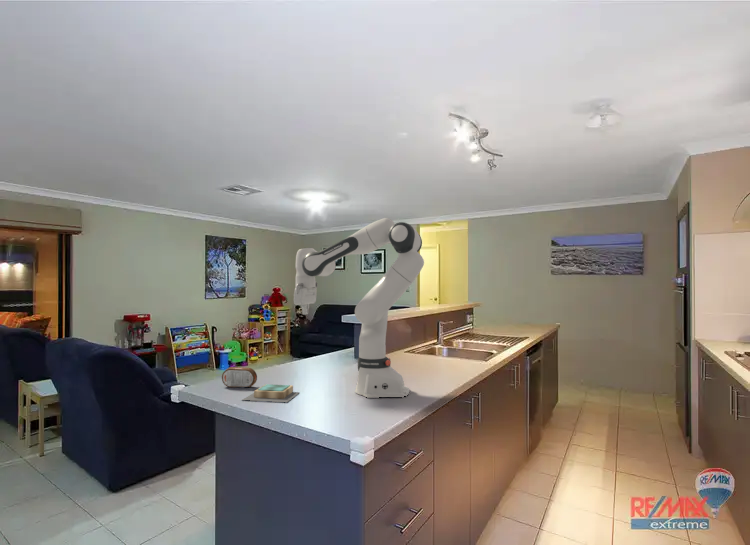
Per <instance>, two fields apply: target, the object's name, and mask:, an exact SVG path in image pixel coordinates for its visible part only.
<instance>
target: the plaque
mask: <svg viewBox="0 0 750 545" xmlns="http://www.w3.org/2000/svg"><path fill="white" fill-rule="evenodd" d="M292 392H294V385H292V384H290V385H289V384H267V383H266V384H265V383H264V385H262V386H260V387H259V388H257V389H255V390H254V391H253V393H254V397H256V398H276V399H284V398H285V397H286V396H288V395H289V394H290V393H292Z"/></svg>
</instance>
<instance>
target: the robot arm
mask: <svg viewBox="0 0 750 545" xmlns="http://www.w3.org/2000/svg"><path fill="white" fill-rule="evenodd" d="M388 244H391V245H392V247H393V249H394V250H395V252H396V253H397V254H398V256H397V258H396V260H395V261H394V262H393V264H392V265H391V266H390V267H389V268H388V270H387V271H386V272H385V273H384V274H383V276H382V277H381V278H380V279H379V280H378V282H377V283H376V284H375V285H373V287H372V288H371V289H369V291H368V292H366V294H364V296H363V297H362V299H360V301H359V302H358V303H356V305H355V308H354V316H355V318H356V320H357V321H358V322H360V323H361V329H360V334H359V337H358V338H359V339H358V358H357V371H358V372H357V373H358V374H357V383H356V386H355V390H354V392H355V394H357V395H360V396H364V398H366V397H367V398H366V399H373V398H374V399H380V398H379V397H402V398H405V397H404V396H406V397H408V396H409V395H410V393H411V392H410V387H408V386H406V385H405V380H404V377H403V375H402V374H401V373H400V372H398V371H397V370H396V369H395V368H393V367H392V366H391V358H390V357H387V356H386V341H387V340H386V339H387V338H386V337H387V331H388V329H387V328H388V319H389V311H390V309H391V308H392V306H394V304H396V302H397V301H399V300H400V298H401V297H402V296H403V295H404V293H405V292H406V291H407V290H408V289H409V288H410V287H411V285H412V284H413V283H414V281H415V280H416V278H417V277H418V275H420V272H421V271H422V269H423V267H424V264H425V260H424V258H423V256H422V255H421V254H420V253H419V252H420V251H421V249H422V246H423V245H422V244H423V239H422V237H421V234H419V232H418V231H417V230H416V229H415V227H413V226H412V225H411V224H409V223H407V222H402V221H400V222H394V221H393V220H392V219H391V218H389V217H383V218H381V219H378V220H375V221H373V222H371V223H369V224H367V225H366V226H364V227H362V228H361V229H359V230H357V231H355V232H354V233H352V234H350V235H348V236H347V237H346V238H344V239H342V240H340V241H338V242H336V243H334V244H332V245H330V246H328V247H326V248H324V249H322V250H319V251H317V250H316V249H314V248H313V247H303V248H300V249H298V250H297V252H296V255H295V270H296V274H295V288H294V291H293V304H294V305H295V306H300V308H301V310H302V312H301V314H302V315H304V316H305V315H308V314H309V309H310V304H312V305H313V304H316V302H317V296H318V295H317V294H318V293H317V292H318V291H317V288H318V285H319V284H318V282H317V281H316V277H328V276H331V275H333V273H334V272H335V270H336V266H337V265H336V261H337V260H339V259H342V258H343V257H347V256H350V255H367V254H369V253H373V252H374V251H376V250H377V251H378V249H380V248H382V247H384V246H387V245H388ZM409 392H410V393H409ZM408 394H409V395H408ZM407 395H408V396H407Z"/></svg>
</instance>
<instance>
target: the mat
mask: <svg viewBox="0 0 750 545" xmlns="http://www.w3.org/2000/svg"><path fill="white" fill-rule="evenodd" d="M299 394H300V392H298V391H293V392H292V393H290V394H289V395H288V396H286V397H285V398H284V399H276V398H256V397H254V392H252V393H250V394H249V395H248V396H246V397H245V398H243V399H242V400H250V401H249V402H257V401H272V402H271V403H276V402H286V403H285V404H288V403H289V402H290V401H291V400H293V399H294V398H295V397H296V396H298V395H299ZM292 398H293V399H292ZM287 402H288V403H287Z"/></svg>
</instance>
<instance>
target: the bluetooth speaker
mask: <svg viewBox="0 0 750 545" xmlns="http://www.w3.org/2000/svg"><path fill="white" fill-rule="evenodd" d="M221 380H222V384H223V385H224V386H226V387H228V388H236V387H249V388H251V387H252V386H254V385H255V384H256V383H257V380H258V375H257V372H256V371H255V370H254V369H253V368H251V367H242V366H240V367H239V366H230V367H228V368H226V369H225V370H224V371H223V372H222V374H221Z"/></svg>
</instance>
